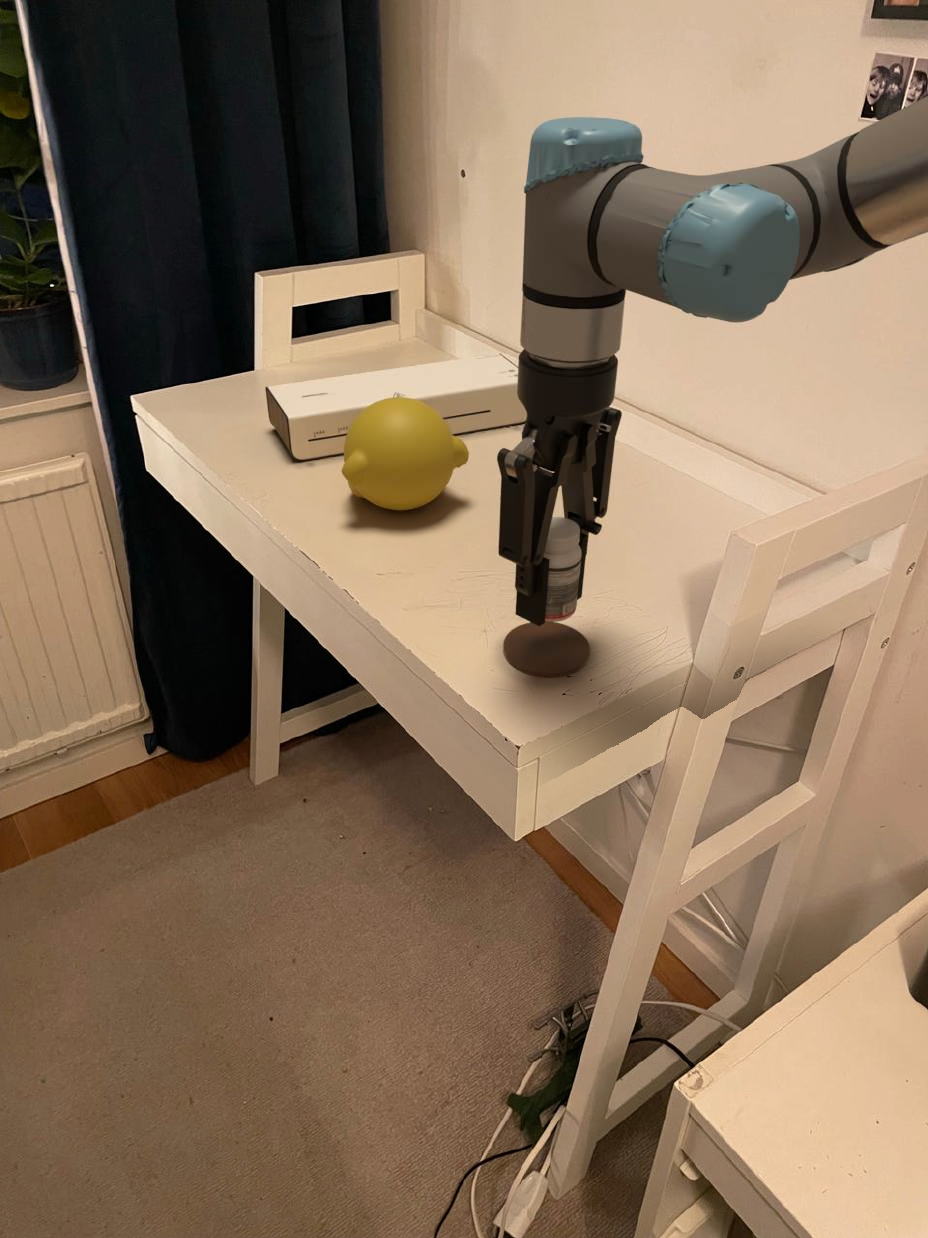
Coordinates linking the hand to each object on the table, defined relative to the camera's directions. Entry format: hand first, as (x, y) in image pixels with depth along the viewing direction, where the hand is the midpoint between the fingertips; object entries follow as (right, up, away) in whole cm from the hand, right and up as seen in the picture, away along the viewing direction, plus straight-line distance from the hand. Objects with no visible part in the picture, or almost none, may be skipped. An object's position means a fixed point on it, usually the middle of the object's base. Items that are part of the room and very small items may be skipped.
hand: (549, 605), depth 84 cm
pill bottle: (0, 0, 0) cm, 1 cm away
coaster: (0, -4, +3) cm, 5 cm away
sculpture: (-15, +12, +26) cm, 32 cm away
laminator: (-16, +25, +44) cm, 54 cm away
